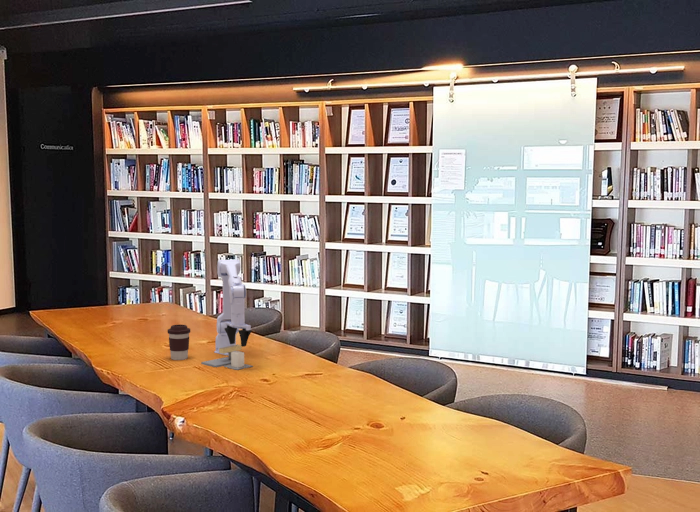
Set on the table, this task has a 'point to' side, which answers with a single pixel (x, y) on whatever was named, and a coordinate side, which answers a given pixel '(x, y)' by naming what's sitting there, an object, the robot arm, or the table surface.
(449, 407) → the table surface
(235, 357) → the white rectangular block
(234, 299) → the robot arm
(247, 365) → the mat
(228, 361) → the panel
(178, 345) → the coffee cup
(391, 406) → the table surface
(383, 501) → the table surface
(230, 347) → the tan rectangular bar
